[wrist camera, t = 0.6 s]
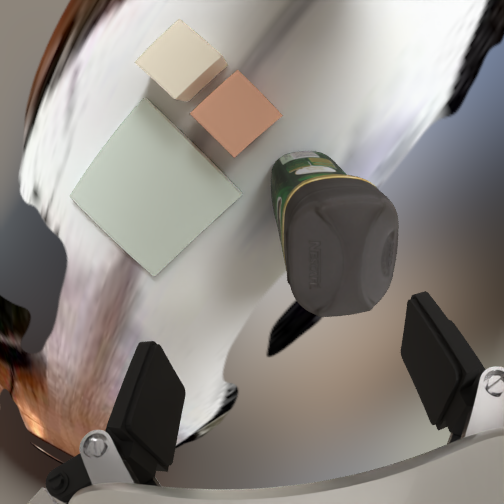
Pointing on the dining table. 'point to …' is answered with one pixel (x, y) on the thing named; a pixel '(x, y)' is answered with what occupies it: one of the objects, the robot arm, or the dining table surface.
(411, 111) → the dining table surface
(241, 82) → the terracotta block
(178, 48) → the cream block
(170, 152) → the board
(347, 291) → the coffee jar
